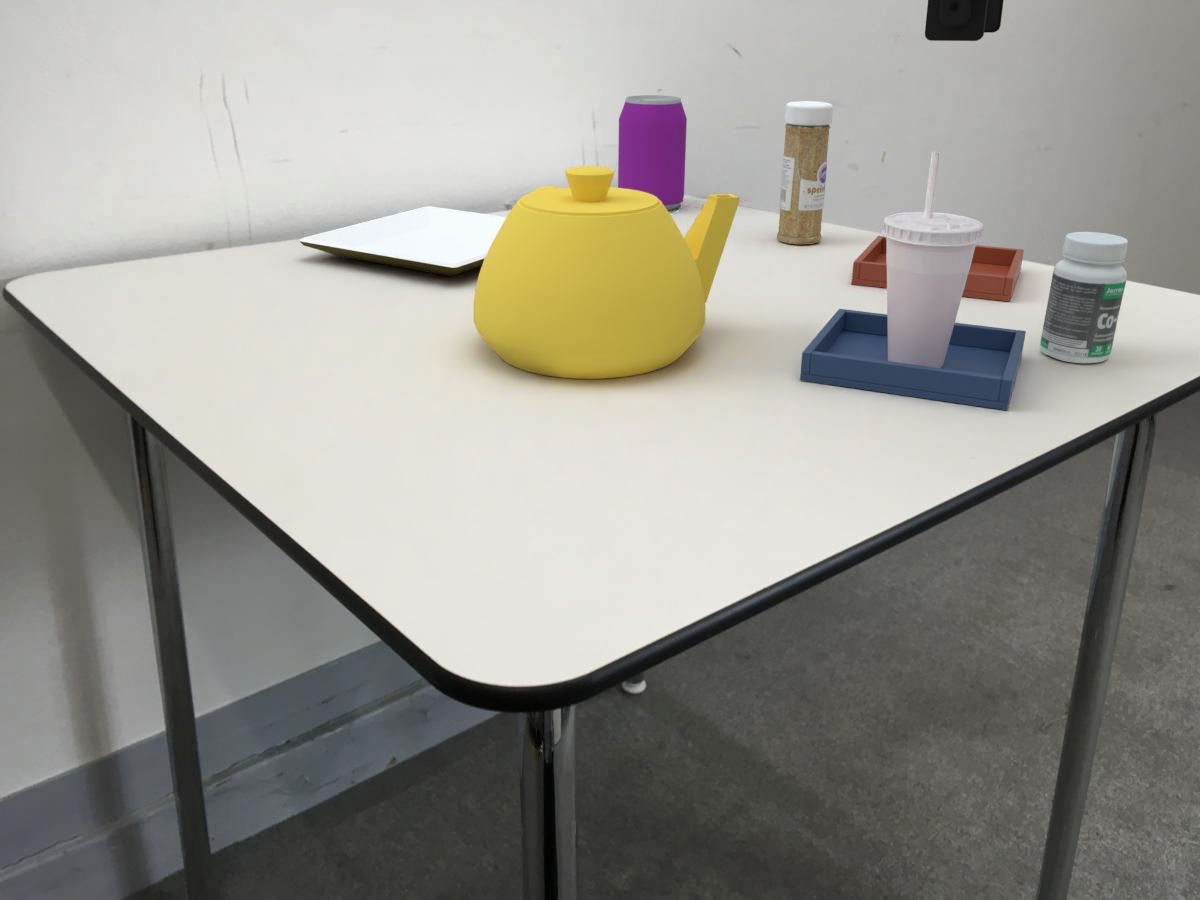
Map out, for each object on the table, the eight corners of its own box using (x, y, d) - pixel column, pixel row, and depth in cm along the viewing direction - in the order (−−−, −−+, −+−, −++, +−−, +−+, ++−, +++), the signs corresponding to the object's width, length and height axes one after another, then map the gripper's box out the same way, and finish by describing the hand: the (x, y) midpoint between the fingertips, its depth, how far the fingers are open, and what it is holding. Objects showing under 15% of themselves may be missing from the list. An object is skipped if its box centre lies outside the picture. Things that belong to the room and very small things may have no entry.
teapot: (525, 401, 69) (520, 198, 64) (435, 321, 85) (425, 153, 80) (789, 359, 77) (804, 175, 72) (662, 293, 93) (667, 138, 87)
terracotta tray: (1020, 271, 100) (1024, 249, 99) (1009, 301, 91) (1013, 278, 90) (875, 256, 105) (877, 235, 104) (851, 284, 96) (853, 261, 95)
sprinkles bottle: (818, 247, 108) (830, 106, 103) (772, 243, 109) (782, 104, 104) (823, 237, 112) (836, 101, 107) (779, 234, 113) (789, 99, 108)
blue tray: (1021, 357, 78) (1025, 330, 77) (1007, 410, 68) (1012, 380, 67) (836, 333, 82) (839, 308, 82) (799, 380, 73) (802, 352, 72)
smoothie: (920, 342, 79) (945, 143, 73) (984, 369, 74) (1017, 157, 68) (848, 354, 76) (869, 149, 71) (910, 383, 71) (938, 163, 66)
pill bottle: (1094, 369, 75) (1119, 248, 72) (1027, 354, 78) (1048, 237, 75) (1120, 354, 78) (1144, 237, 75) (1054, 339, 81) (1075, 227, 78)
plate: (299, 260, 102) (296, 238, 101) (428, 224, 117) (427, 205, 116) (456, 289, 93) (454, 265, 92) (574, 246, 108) (574, 225, 107)
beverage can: (688, 201, 129) (692, 95, 124) (677, 214, 122) (681, 102, 118) (625, 198, 131) (626, 93, 126) (611, 210, 124) (612, 100, 119)
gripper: (1068, -345, 51) (1017, 45, 58) (1080, -276, 66) (1038, 29, 72) (904, -326, 54) (874, 43, 61) (951, -264, 68) (922, 29, 75)
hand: (964, 35), depth 67 cm, fingers open, 9 cm apart
